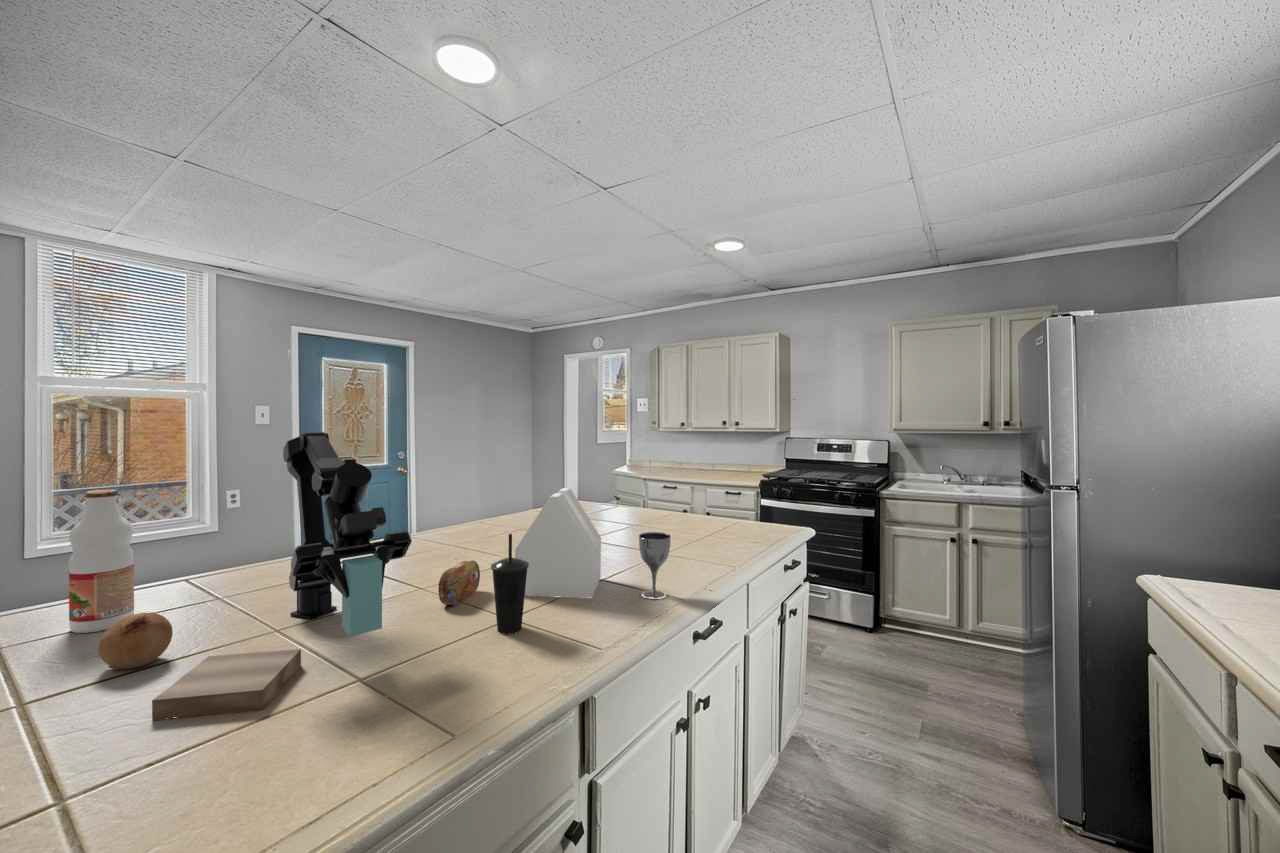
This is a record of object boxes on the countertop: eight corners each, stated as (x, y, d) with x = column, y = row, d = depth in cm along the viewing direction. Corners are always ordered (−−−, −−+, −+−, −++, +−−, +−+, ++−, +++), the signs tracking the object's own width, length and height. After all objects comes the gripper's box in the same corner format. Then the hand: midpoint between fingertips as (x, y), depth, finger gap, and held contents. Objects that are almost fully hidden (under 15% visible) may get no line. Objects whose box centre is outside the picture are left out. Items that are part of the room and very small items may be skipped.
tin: (448, 611, 118) (448, 574, 118) (435, 609, 119) (435, 573, 119) (481, 589, 133) (481, 556, 133) (469, 588, 133) (470, 556, 133)
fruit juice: (127, 627, 107) (126, 492, 106) (61, 638, 101) (59, 495, 101) (139, 613, 114) (138, 486, 114) (78, 621, 109) (77, 489, 109)
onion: (143, 687, 89) (143, 644, 86) (82, 676, 88) (79, 632, 84) (185, 645, 98) (187, 604, 95) (131, 634, 97) (130, 593, 93)
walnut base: (209, 673, 88) (208, 656, 88) (300, 665, 92) (301, 648, 92) (152, 720, 75) (152, 700, 75) (262, 709, 78) (262, 689, 78)
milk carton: (514, 596, 128) (515, 495, 128) (531, 577, 144) (532, 487, 143) (591, 598, 127) (592, 497, 127) (600, 579, 143) (601, 488, 142)
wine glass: (675, 593, 131) (676, 534, 131) (659, 603, 125) (660, 540, 124) (648, 587, 136) (649, 530, 135) (632, 596, 129) (632, 536, 129)
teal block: (342, 627, 92) (342, 560, 91) (372, 620, 95) (372, 555, 95) (350, 636, 88) (350, 566, 88) (381, 628, 91) (382, 560, 91)
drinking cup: (535, 625, 111) (536, 531, 110) (515, 639, 103) (516, 539, 103) (504, 620, 113) (505, 528, 113) (482, 633, 106) (483, 536, 105)
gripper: (294, 499, 87) (310, 579, 80) (408, 489, 100) (431, 557, 93) (284, 537, 93) (298, 615, 85) (393, 523, 106) (414, 590, 98)
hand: (364, 592), depth 90 cm, fingers closed on teal block, 5 cm apart
